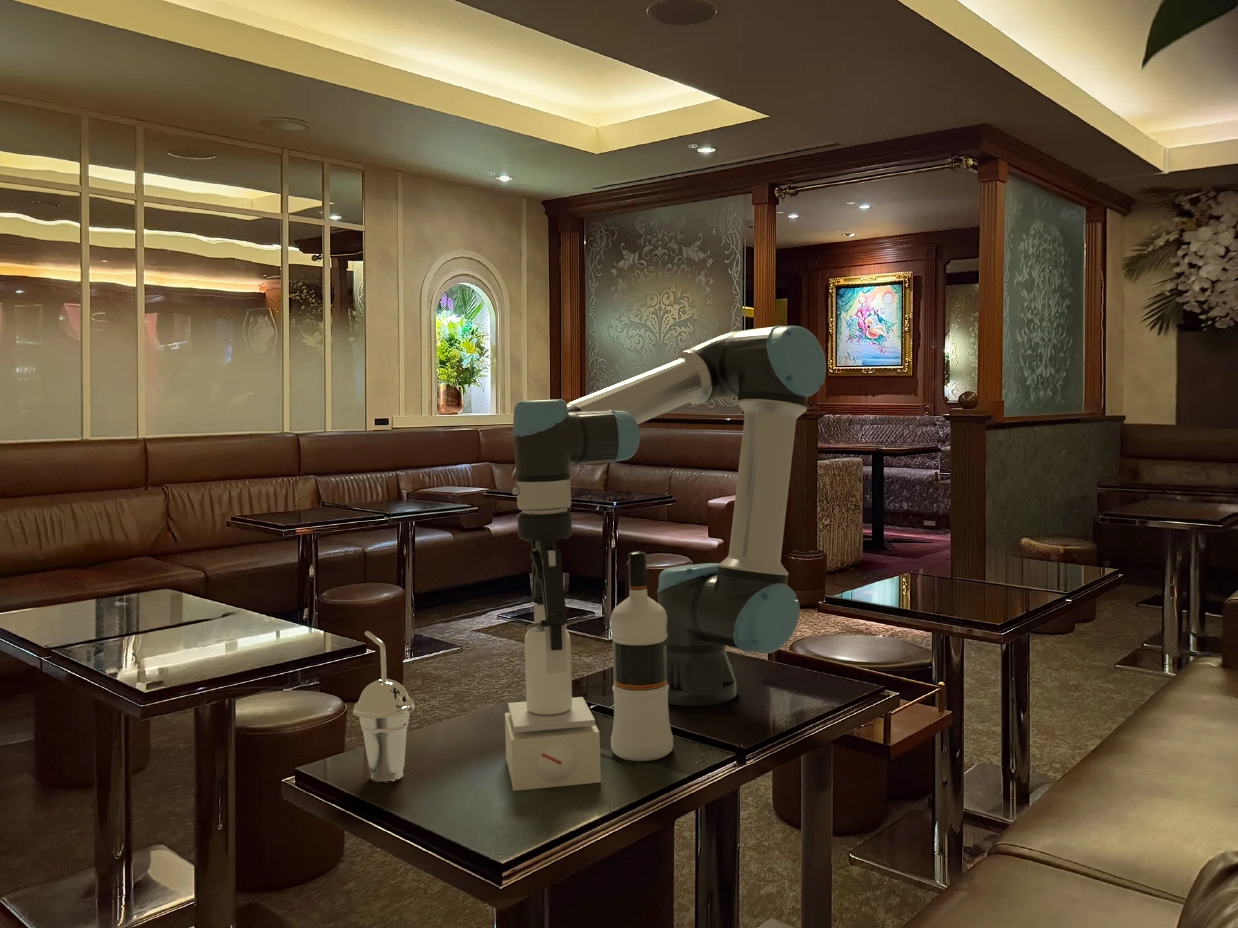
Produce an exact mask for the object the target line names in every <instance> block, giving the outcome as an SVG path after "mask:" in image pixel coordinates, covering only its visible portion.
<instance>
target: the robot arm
mask: <svg viewBox="0 0 1238 928" xmlns="http://www.w3.org/2000/svg"><path fill="white" fill-rule="evenodd" d="M826 374H827V361H826V355H825V353H824V349H823V347H822V345H821V344H820V343H819V340H818V339H817V337H816V336H815V334H814V333H812V332H811V331H810V330H809V329H807V328H805V327H802V326H799V325H781V324H779V325H775V326H769V327H762V328H752V329H741V330H739V329H738V330H735V331H730V332H726V333H724V334H721V335H719V336H716V337H714V338H711V339H709V340H707V341H704V342H702V343H700V344H697V345H695V346H693V347H690V348H688V349H686V350H683V351H680V352H679V353H677V354H676V355H675V357H674V358H673V361H671V362H669V363H666V364H663V365H661V366H658V367H656V368H653V369H650V370H648V371H646V372H643V373H641V374H638V375H635V376H633V377H631V378H628V379H625V380H623V381H621V382H618V383H615V384H613V385H611V386H608V387H605V388H603V389H601V390H598V391H596V392H595V391H594V392H593V393H590V394H588V395H586V396H582V397H579V398H578V399H575V400H573V401H570V402H568V403H567V402H566V401H565V400H564V399H561V398H560V399H538V400H520V401H518V402H517V403H516V404H515V405H514V408H513V418H512V419H513V423H512V425H513V427H512V429H513V430H512V436H513V443H514V447H513V448H514V462H515V477H516V478H515V480H516V485H517V486H518V487H514V488H512V490H511V492H512V493H511V494H513V496H515V495H516V502H517V503H516V504H517V508H518V509H519V510H521V512H518V514H517V533H518V534H517V535H518V538H519V539H520V540H522V541H526V542H530V545H531V551H530V560H531V571H532V573H531V574H532V575H531V577H532V578H531V592H530V593H531V595H532V602H533V603H534V604H533V618H534V619H533V621H534V623H540V622H541V627H544V630H545V654H546V673H547V674H554V673H565V672H567V661H566V637H565V624H567V623H568V616H567V610H566V600H565V588H564V580H563V579H564V577H563V567H562V563H563V562H562V561H563V555H562V552H561V549H558V548H557V541H559V540H565V539H569V538H571V536H572V535H573V525H572V524H573V522H572V513H571V512H570V510H569V508H571V506H572V493H571V492H572V491H571V490H572V489H571V485H572V484H571V473H570V472H571V468H570V467H571V466H576V465H587V464H589V465H590V464H602V463H603V464H604V463H612V464H615V463H617V462H621V461H627V460H630V459H631V458H632V457H633V456H634V455H636V453H637V451H638V448H639V446H640V440H641V439H640V427H639V425H640V424H642V423H644V422H646V421H649V420H651V419H654V418H656V417H658V416H660V415H663V414H665V413H668V412H670V411H672V410H675V409H678V408H679V407H682V406H684V405H686V404H688V403H690V404H692V405H701V404H703V403H706V402H708V401H712V400H716V399H723V398H727V399H728V398H737V400H736V401H737V403H736V404H737V405H738V406H739V407H740V409H741V410H742V411H743V413H744V417H743V418H744V419H743V428H742V438H741V445H740V453H739V463H738V470H737V471H738V472H737V480H736V489H735V497H734V498H735V499H734V504H733V505H734V507H733V513H732V514H733V515H732V524H731V532H730V541H729V550H728V555H727V557H726V558H724V559H723V560H722V561H721V562H720V563H719V562H718V563H717V562H715V563H714V562H712V563H711V562H710V563H709V562H708V563H697V564H695V563H694V564H685V565H680V566H679V565H678V566H674V567H669V568H665V569H663V570H662V571H661V572H660V573H659V576H658V589H657V591H656V592H657V603H658V604H660V605H661V606H662V607H663V608H664V609H665V611H666V614H667V634H668V636H667V638H666V639H667V680H668V683H667V684H668V685H669V689H668V705H673V706H678V707H679V706H680V707H706V706H707V707H708V706H714V705H721V704H723V703H727V702H730V701H732V700H733V699H734V698H736V697H737V680H736V677H735V675H734V674H735V673H734V671H733V669H732V666H731V662H730V660H729V657H728V654H727V650H726V649H727V647H729V648H733V649H734V648H735V649H738V650H741V651H742V652H744V653H756V654H761V655H763V654H764V655H765V654H766V655H767V654H771V653H774V652H777V651H778V650H780V649H781V648H782V647H783V646H784V645H785V644H786V642H788V641H790V639H791V638H792V636H793V634H794V633H795V631H796V628H797V625H798V622H799V617H800V602H799V599H797V594H796V592H795V591H794V590H793V588H791V587H790V586H789V585H788V582H789V581H788V579H789V572H788V571H787V570H786V568H785V567H784V565H783V564H782V562H781V559H782V552H783V551H782V550H783V542H784V533H785V522H786V515H787V514H786V513H787V504H788V497H789V488H790V487H789V486H790V480H791V479H790V478H791V470H792V460H793V451H794V444H795V443H794V442H795V433H796V424H797V419H798V418H799V417H800V416H801V415H803V414H804V413H805V412H807V409H808V401H809V397H811V396H813V395H814V394H816V393H818V392H819V391H820V387H822V386H823V385H824V383H825V379H826ZM534 623H533V624H534Z"/></svg>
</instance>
